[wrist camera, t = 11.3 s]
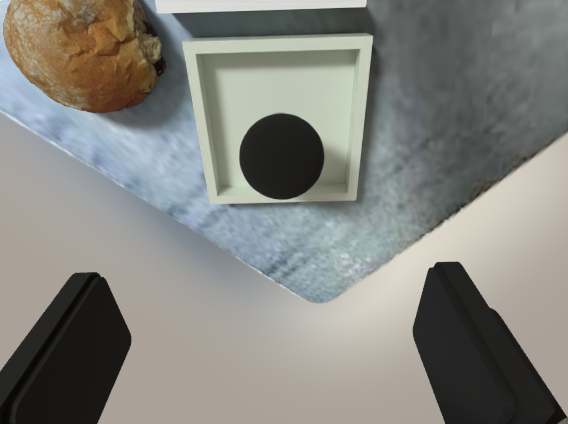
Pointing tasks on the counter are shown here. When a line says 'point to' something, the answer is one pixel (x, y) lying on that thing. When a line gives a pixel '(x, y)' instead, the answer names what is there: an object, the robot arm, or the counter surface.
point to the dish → (279, 104)
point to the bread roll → (85, 51)
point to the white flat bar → (249, 5)
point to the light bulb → (281, 156)
